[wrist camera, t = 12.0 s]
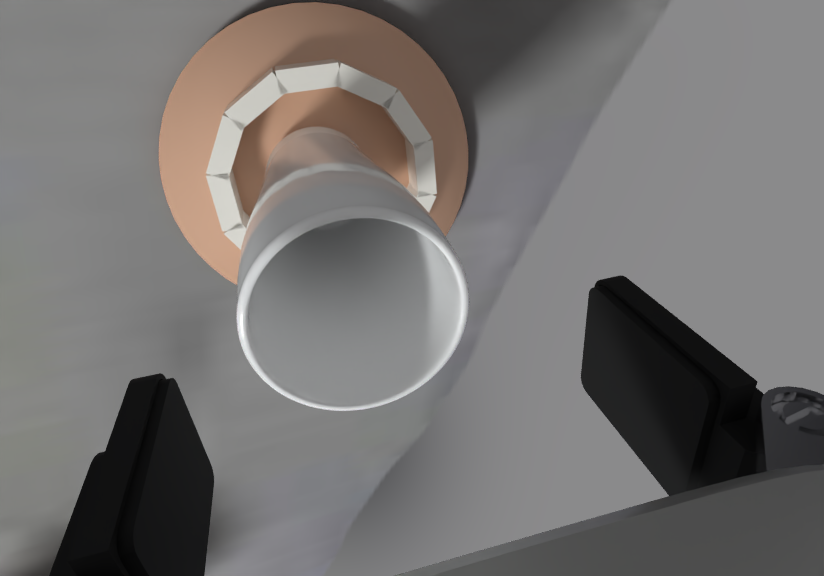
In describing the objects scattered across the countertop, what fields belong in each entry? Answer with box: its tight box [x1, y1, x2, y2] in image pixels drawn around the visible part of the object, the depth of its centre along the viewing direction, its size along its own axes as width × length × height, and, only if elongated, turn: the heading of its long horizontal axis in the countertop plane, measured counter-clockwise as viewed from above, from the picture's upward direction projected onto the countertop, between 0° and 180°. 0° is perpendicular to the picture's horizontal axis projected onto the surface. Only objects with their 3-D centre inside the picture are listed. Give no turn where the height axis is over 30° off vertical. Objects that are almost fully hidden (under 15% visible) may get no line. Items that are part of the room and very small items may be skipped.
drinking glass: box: [236, 126, 469, 411], centre depth 21 cm, size 7×7×15 cm
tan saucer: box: [159, 2, 468, 285], centre depth 27 cm, size 16×16×3 cm
